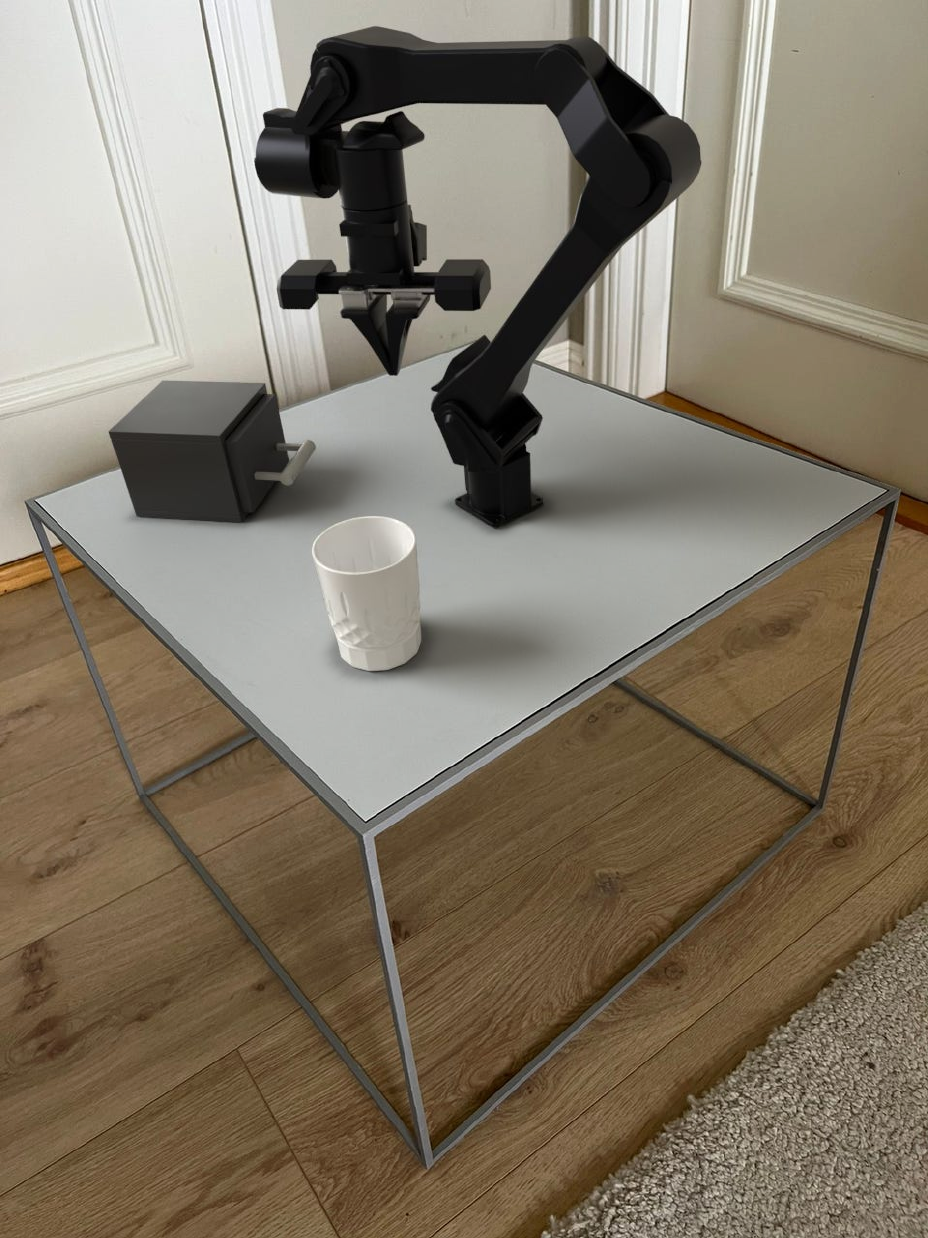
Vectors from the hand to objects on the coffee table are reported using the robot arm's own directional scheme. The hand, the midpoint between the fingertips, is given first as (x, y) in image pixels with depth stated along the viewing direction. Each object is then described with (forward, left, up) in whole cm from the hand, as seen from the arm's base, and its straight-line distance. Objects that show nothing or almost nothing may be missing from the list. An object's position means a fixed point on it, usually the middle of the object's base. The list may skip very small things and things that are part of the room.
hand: (394, 373), depth 91 cm
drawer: (+11, +13, -11) cm, 20 cm away
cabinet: (+14, +16, -12) cm, 24 cm away
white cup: (-20, +17, -12) cm, 29 cm away
